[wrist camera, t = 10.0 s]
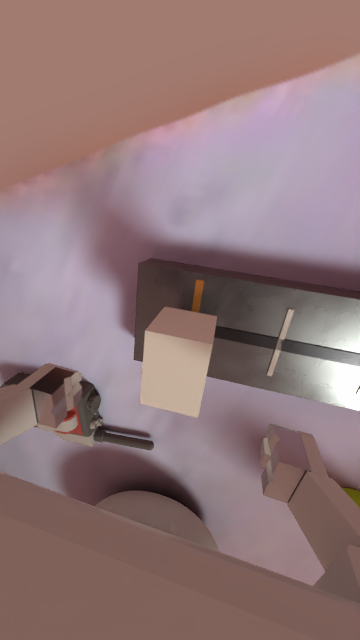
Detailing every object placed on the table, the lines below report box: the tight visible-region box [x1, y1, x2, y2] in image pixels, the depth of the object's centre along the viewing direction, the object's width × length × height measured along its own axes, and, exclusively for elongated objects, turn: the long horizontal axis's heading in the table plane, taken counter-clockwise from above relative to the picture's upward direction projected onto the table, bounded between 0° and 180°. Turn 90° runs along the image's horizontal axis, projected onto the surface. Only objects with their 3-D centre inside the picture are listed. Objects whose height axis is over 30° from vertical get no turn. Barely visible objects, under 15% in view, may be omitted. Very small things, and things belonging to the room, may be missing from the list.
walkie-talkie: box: [0, 373, 154, 450], centre depth 28 cm, size 9×4×20 cm
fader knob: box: [140, 307, 217, 418], centre depth 16 cm, size 4×5×7 cm
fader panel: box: [134, 259, 360, 411], centre depth 20 cm, size 24×9×3 cm, turn 83°
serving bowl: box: [95, 491, 219, 552], centre depth 33 cm, size 21×21×7 cm
